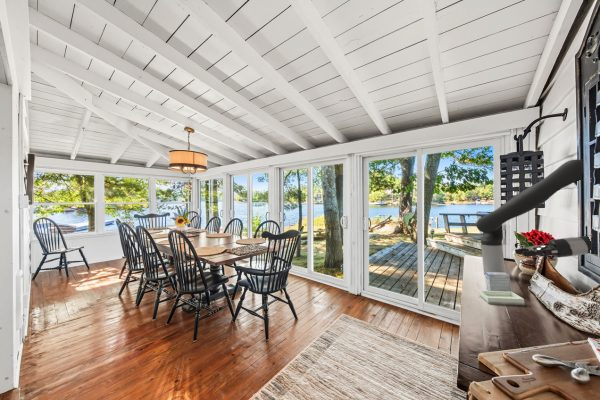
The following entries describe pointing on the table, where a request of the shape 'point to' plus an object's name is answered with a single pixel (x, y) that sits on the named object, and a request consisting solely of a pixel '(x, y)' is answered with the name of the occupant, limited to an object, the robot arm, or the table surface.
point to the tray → (501, 297)
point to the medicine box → (497, 281)
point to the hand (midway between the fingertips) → (519, 253)
